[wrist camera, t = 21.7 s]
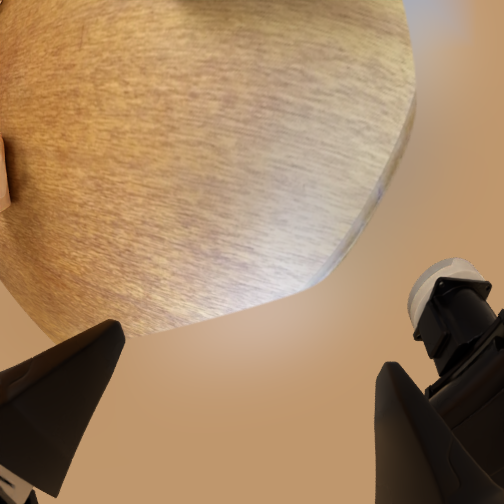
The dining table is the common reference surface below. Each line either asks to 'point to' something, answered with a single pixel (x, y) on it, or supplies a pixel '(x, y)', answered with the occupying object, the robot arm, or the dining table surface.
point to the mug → (3, 179)
